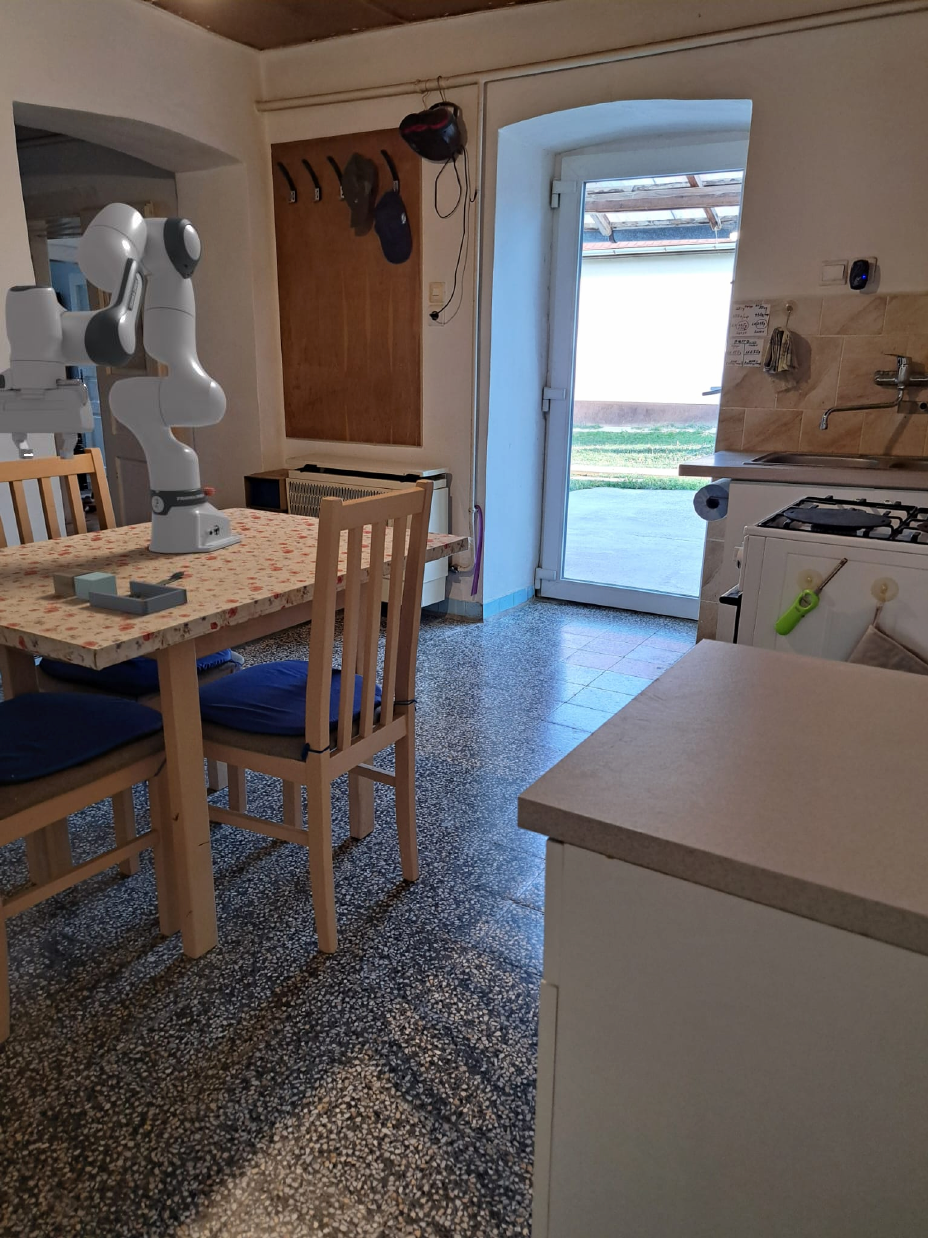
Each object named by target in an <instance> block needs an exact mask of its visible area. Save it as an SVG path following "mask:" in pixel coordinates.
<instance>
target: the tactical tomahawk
mask: <svg viewBox="0 0 928 1238" xmlns="http://www.w3.org/2000/svg"><path fill="white" fill-rule="evenodd" d="M184 575H185V571H177V572H175V573H172V574H171V576H170V577H169V578H168V579H162V580H160V581H158V582H156V583H155V584H158V585H164V586H167V585H170V584H172V583H174V582H176V581H178V580H179V579H180V577H183V576H184ZM166 584H167V585H166ZM128 597H130V598H136V599H141V598H140V597H141V596H140V594H139V593H136V592H135V593H133V594H128Z"/></svg>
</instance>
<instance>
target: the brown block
mask: <svg viewBox="0 0 928 1238" xmlns="http://www.w3.org/2000/svg"><path fill="white" fill-rule="evenodd" d="M90 573H94V571H93V570H87V569H81V568H71V569H67V570H63V571H58V572H53V573H52V580H53V589H54V594H55V595H59V596H66V597H71V598H75V597H76V589H75V581H74V577H78V576H82V575H86V574H90Z"/></svg>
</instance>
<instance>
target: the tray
mask: <svg viewBox="0 0 928 1238" xmlns="http://www.w3.org/2000/svg"><path fill="white" fill-rule="evenodd" d="M128 583H129V593H130V594H129V595H131V594H133V593H135V592H136V593H139V594H140V596H139V597H146V599H145V598H144V599H141V598H130V597H129V596H124V595H114V594H108V593H103V592H97V591H89V592H88V594H89V600H88V601H89V606H94V607H98V608H103V609H108V610H109V609H110V610H114V611H119V612H125V613H130V614H134V613H135V614H134V615H141V616H149V615H152V614H154V613H158V612H161V611H165V610H168V609H171V608H174V607H177V606H182V605H184V604H187V603H188V594H187V588H181V587H175V586H169V585H158V584H156V583H150V582H145V581H139V580H133V579H132V580H129V581H128ZM151 613H152V614H151Z"/></svg>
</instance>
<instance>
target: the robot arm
mask: <svg viewBox="0 0 928 1238" xmlns="http://www.w3.org/2000/svg"><path fill="white" fill-rule="evenodd" d="M201 241H202V240H201V238H200V234H199V232H198V230H197V228H196V227H195V225H193V223H191V221H190V220H188V219H186V218H183V217H178V216H169V217H147V218H143V216H142V215H141V213H140V212H139V211H138V210H137V209H135V208H134V207H132V206H130V205H128V204H126V203H123V202H122V203H121V202H113V203H110V204H108V205H106V206H105V207H103V209H102V210H101V211H99V212H98V213H97V214H96V215H95V217H94V218H93V219H92V220H91V222H90V223H89V224H88V226H87V228H86V229H85V231H84V233H83V235H82V237H81V238H80V240H79V242H78V245H77V247H76V248H77V249H76V254H75V255H76V261H77V265H78V267H79V269H80V271H81V273H82V275H83V276H84V277H85V278H86V279H87V281H89V283H91V284H92V285H93V286H95V287H96V288H98V289H100V290H101V291H104V292H106V293H110V294H111V297H110V301H109V303H108V304H109V305H108V306H106V307H103V308H102V309H101V308H100V309H97V310H88V311H87V310H82V311H80V310H79V311H68V309H67V308H65V307H63V306H62V305H61V304H60V303H59V301H58V298H57V293H56V291H55V289H54V287H51V286H49V285H45V284H33V285H31V284H30V285H14V286H11V288H9V289H8V290H7V292H6V296H5V307H4V308H5V309H4V310H5V311H4V312H5V315H4V316H5V328H6V337H7V339H8V342H9V345H10V355H9V367H8V368H6V369H5V370H3V371H1V372H0V434H11V440H12V441H13V443H14V445H15V447H16V448H17V450H18V457H19V459H20V460H33V458H34V455H33V453H34V452H33V449H32V448H29V446H28V444H27V440H28V434H61V436H62V440H64V444H63V447H62V448H60V449H59V458H60V459H61V460H74V458H75V455H74V453H75V452H74V449H75V448H76V445H77V443H78V440H79V439H78V438H79V437H78V434H90V433H93V430H94V428H95V419H94V418H95V417H94V414H93V409H92V404H91V399H90V397H89V389H88V387H87V386H86V384H85V383H84V382H82V381H81V379H78V378H73V379H67V372H66V367H71V366H76V367H91V366H93V367H99V366H100V367H106V368H107V367H108V368H123V367H124V366H125V365H127V364H128V363H129V362H130V361H131V359H132V357H134V354H135V352H136V350H137V328H138V323H139V318H140V315H141V309H142V305H144V307H143V340H142V341H143V342H142V343H143V347H144V349H145V351H146V353H147V354H148V355H149V356H150V357H151V358H152V359H154V360H155V361H157V362H159V363H161V364H163V365H165V366H167V369H168V372H167V373H168V375H167V376H135V377H129V378H124V379H119V380H117V381H115V383H114V384H113V385H112V386H111V388H110V391H109V395H108V404H109V408H110V411H111V412H112V413H111V414H113V416H114V418H115V419H116V420H117V421H118V422H119V423H120V424H122V425H124V426H125V427H127V429H128V430H130V431H131V432H132V433H133V435H134V436H135V437H136V439H137V440H138V442H139V444H140V445H141V446H140V447H142V449H143V451H144V452H143V453H144V456H145V459H146V465H147V470H148V471H147V472H148V477H149V485H150V488H149V489H148V500H149V504H150V507H151V530H150V531H151V532H150V541H149V546H148V550H149V551H151V552H154V553H163V554H185V553H186V554H187V553H208V552H213V551H216V550H219V549H223V548H224V547H229V546H231V545H234V544H238V543H239V542H242V541H243V538H242V536H240V535H237V534H234V533H233V532H232V526H231V523H230V519H229V518H228V516H227V515H226V514H224V513H223V512H221V511H220V510H219V509H217V508H216V507H215V506H213V505H212V504H211V503H209V502H208V498H207V496H208V497H213V496H215V494H216V493H215V492H216V491H215V489H214V487H204V488H203V487H202V486H201V477H200V466H199V465H200V464H199V458H198V455H197V452H196V451H195V450H194V449H193V448H192V447H190V446H188V444H185V443H183V442H181V441H179V440H178V439H176V437H175V436H174V435H173V432H172V428H199V427H200V428H201V427H205V426H211V425H215V424H218V423H219V422H220V421H222V419H223V417H224V416H225V413H226V410H227V398H226V395H225V393H224V389H223V388H222V387H221V385H220V384H219V383H218V382H217V381H215V380H214V379H213V378H211V377H210V375H209V374H208V373H207V372H206V370H205V369H204V368H203V366H202V365H201V363H200V362H201V361H199V357H198V354H197V344H196V340H197V339H196V300H195V294H194V287H193V281H192V279H191V277H192V276H193V275H194V273H195V270H196V268H197V267H198V265H199V263H200V259H201V257H202V242H201ZM145 276H146V277H145ZM146 279H147V285H146ZM145 288H146V290H145ZM144 294H145V295H144ZM143 300H144V304H143Z"/></svg>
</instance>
